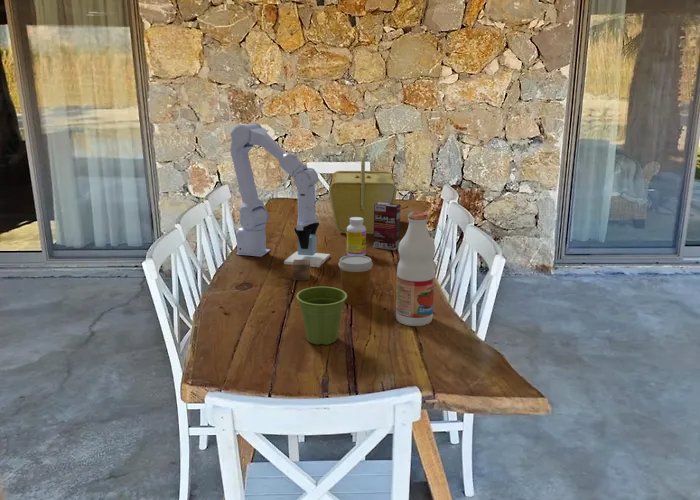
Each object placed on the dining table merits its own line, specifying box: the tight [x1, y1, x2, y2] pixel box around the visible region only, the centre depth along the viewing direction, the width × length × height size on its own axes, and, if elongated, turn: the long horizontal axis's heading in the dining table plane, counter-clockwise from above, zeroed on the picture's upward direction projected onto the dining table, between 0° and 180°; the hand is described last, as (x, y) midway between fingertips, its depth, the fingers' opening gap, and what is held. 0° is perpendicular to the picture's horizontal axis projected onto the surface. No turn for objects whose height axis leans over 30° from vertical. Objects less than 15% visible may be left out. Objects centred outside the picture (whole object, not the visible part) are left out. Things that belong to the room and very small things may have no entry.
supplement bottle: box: [346, 217, 367, 256], centre depth 215 cm, size 7×7×13 cm
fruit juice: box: [395, 211, 436, 327], centre depth 158 cm, size 9×9×28 cm
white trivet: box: [283, 250, 331, 268], centre depth 210 cm, size 12×12×1 cm
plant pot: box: [295, 286, 347, 346], centre depth 148 cm, size 12×12×11 cm
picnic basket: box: [328, 148, 398, 235], centre depth 252 cm, size 29×26×30 cm
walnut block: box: [291, 260, 311, 281], centre depth 193 cm, size 5×5×5 cm
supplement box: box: [372, 202, 402, 251], centre depth 224 cm, size 9×5×16 cm, turn 68°
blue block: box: [297, 234, 318, 256], centre depth 209 cm, size 5×5×6 cm
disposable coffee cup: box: [337, 255, 374, 306], centre depth 173 cm, size 10×10×12 cm
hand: (307, 246), depth 209 cm, fingers closed on blue block, 5 cm apart
